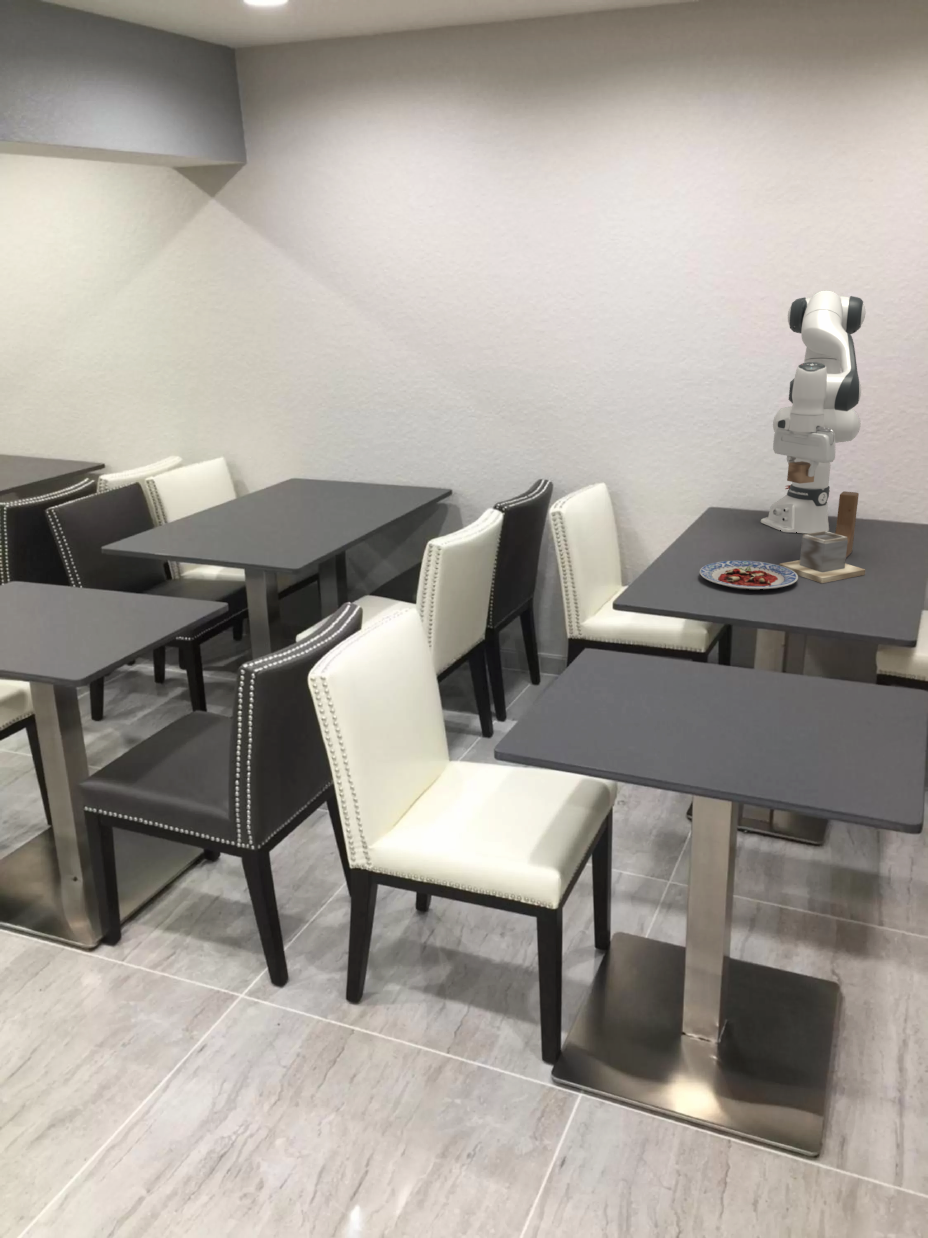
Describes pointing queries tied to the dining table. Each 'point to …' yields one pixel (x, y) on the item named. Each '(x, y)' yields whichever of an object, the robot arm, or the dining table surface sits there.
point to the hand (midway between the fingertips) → (801, 474)
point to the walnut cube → (799, 472)
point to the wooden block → (847, 517)
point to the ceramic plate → (748, 574)
